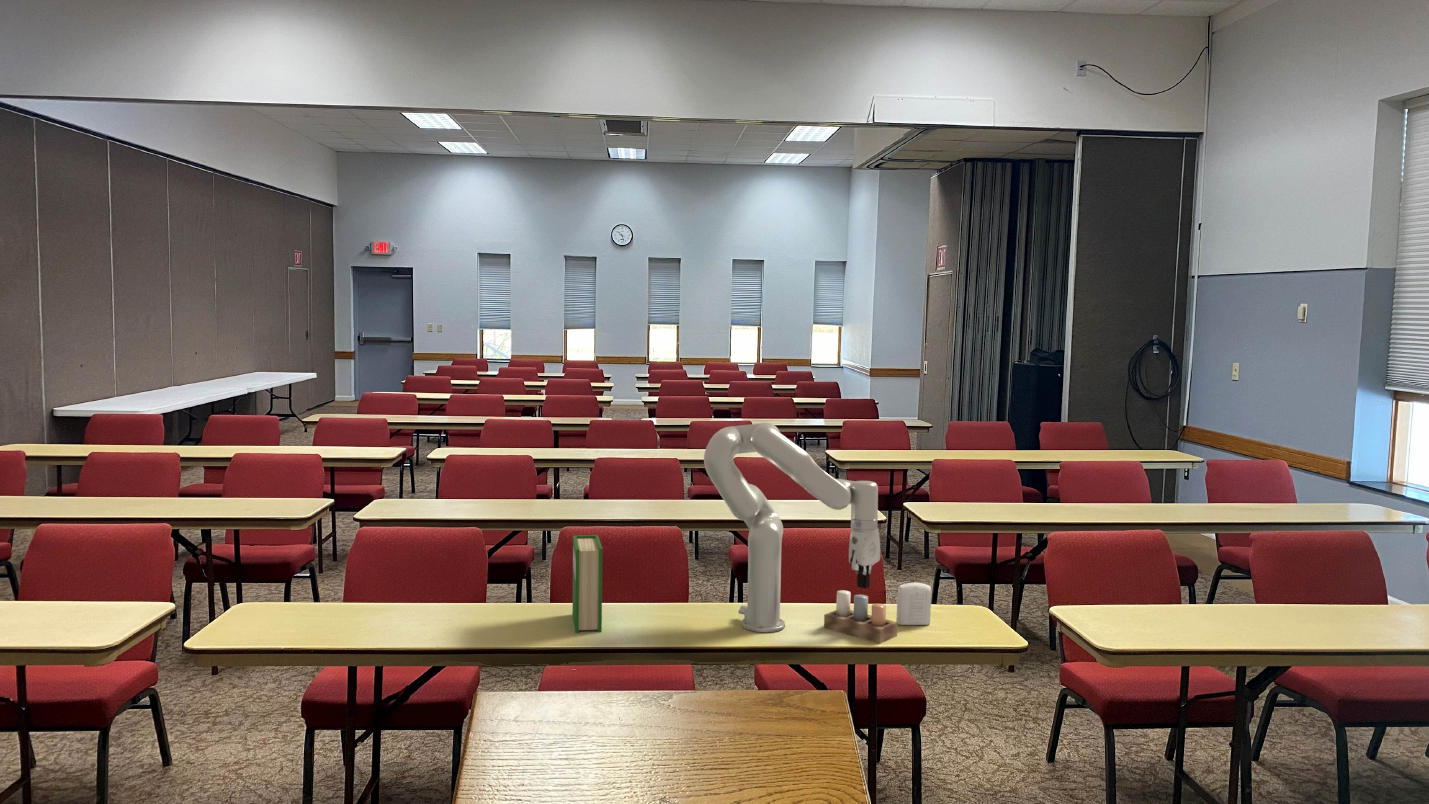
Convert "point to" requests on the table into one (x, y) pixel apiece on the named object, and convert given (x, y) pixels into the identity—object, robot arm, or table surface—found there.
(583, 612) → the hardback book
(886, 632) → the wooden peg holder
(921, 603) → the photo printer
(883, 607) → the salmon orange cylinder
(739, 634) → the table surface
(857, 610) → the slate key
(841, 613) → the white peg
